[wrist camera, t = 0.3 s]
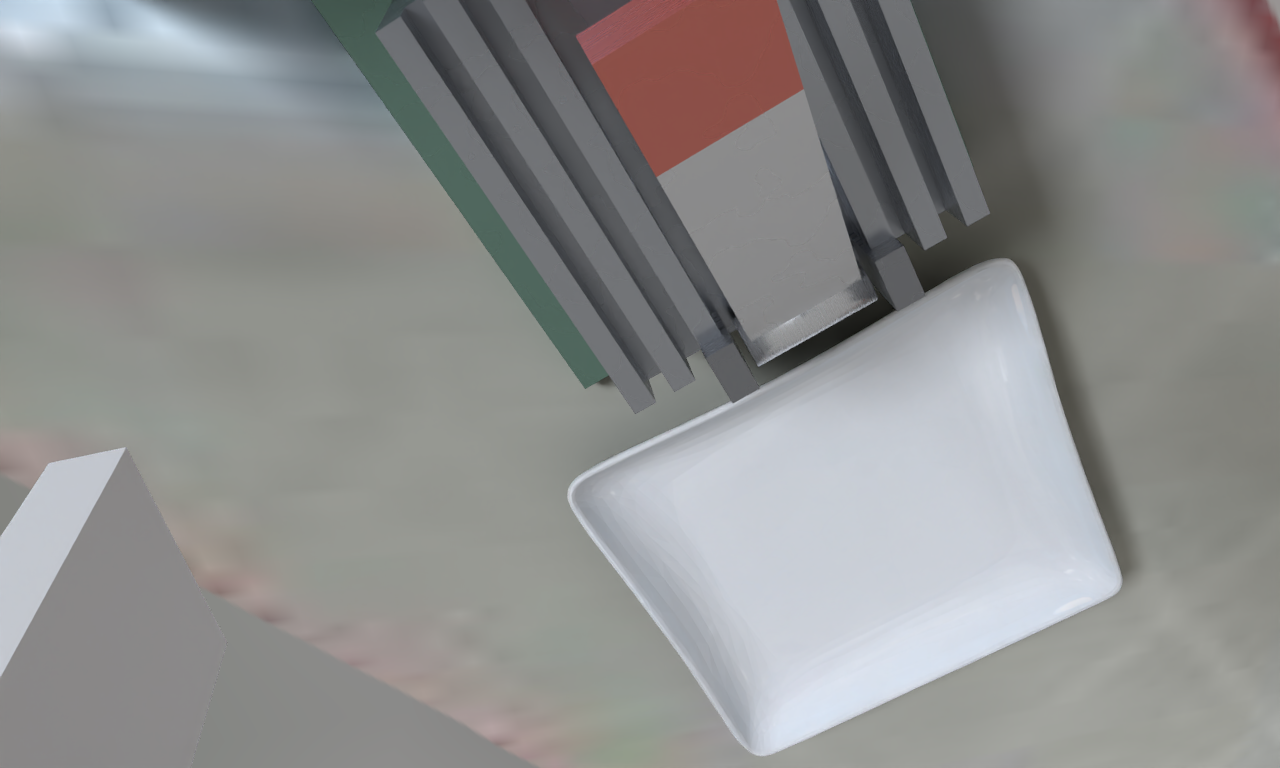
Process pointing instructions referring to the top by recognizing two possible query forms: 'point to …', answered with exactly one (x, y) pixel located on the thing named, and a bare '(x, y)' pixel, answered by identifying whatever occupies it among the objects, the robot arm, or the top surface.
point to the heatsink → (625, 183)
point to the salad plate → (862, 516)
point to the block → (735, 158)
